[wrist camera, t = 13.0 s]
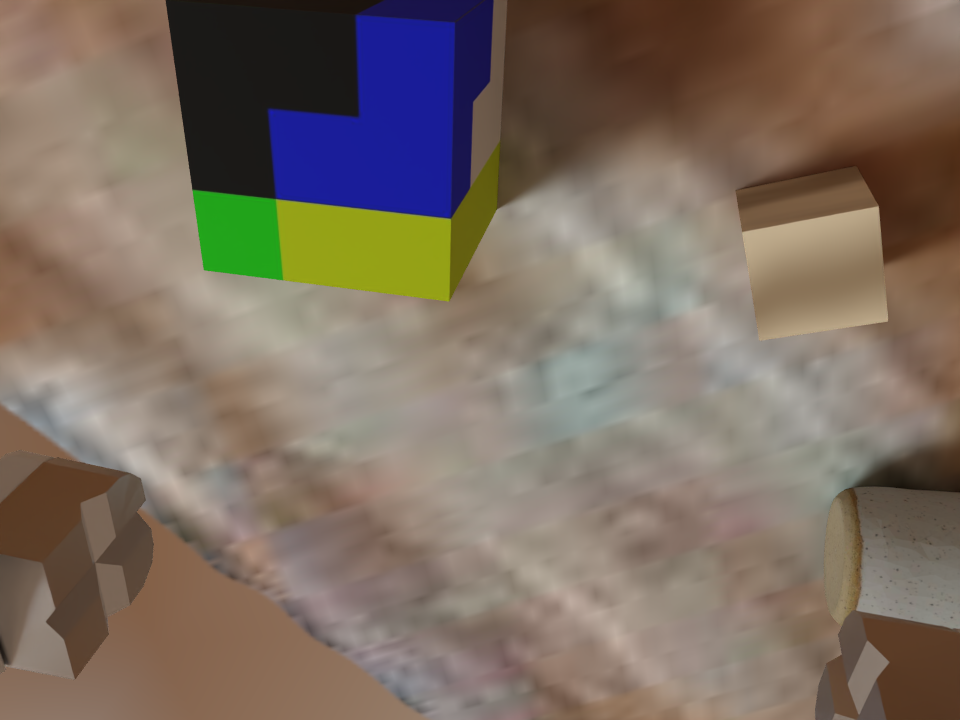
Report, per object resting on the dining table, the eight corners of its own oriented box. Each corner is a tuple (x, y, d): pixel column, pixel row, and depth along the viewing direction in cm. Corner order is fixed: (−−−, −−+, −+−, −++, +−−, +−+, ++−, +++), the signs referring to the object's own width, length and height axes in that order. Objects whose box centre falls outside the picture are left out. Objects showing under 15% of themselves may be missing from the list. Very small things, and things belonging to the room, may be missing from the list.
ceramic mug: (829, 454, 44) (854, 561, 38) (1006, 464, 42) (1063, 577, 36) (806, 601, 49) (825, 716, 43) (962, 615, 48) (1005, 737, 41)
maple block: (735, 189, 38) (742, 232, 34) (856, 165, 37) (878, 206, 32) (751, 289, 40) (759, 340, 36) (865, 270, 39) (887, 321, 35)
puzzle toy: (508, -19, 36) (455, 22, 27) (497, 208, 41) (449, 301, 32) (282, -34, 37) (165, -1, 29) (298, 186, 42) (203, 270, 34)
